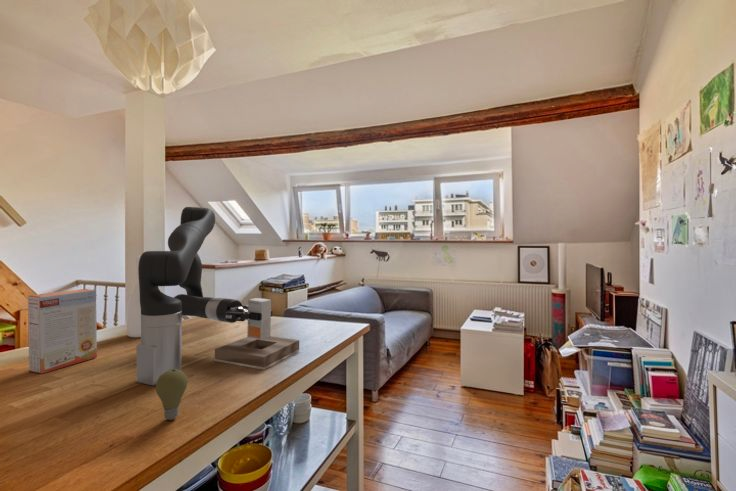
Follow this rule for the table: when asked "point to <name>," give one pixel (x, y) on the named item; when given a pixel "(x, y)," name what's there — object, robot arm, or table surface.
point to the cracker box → (61, 329)
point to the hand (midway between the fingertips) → (266, 315)
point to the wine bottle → (134, 309)
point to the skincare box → (263, 326)
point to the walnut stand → (257, 351)
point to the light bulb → (171, 391)
